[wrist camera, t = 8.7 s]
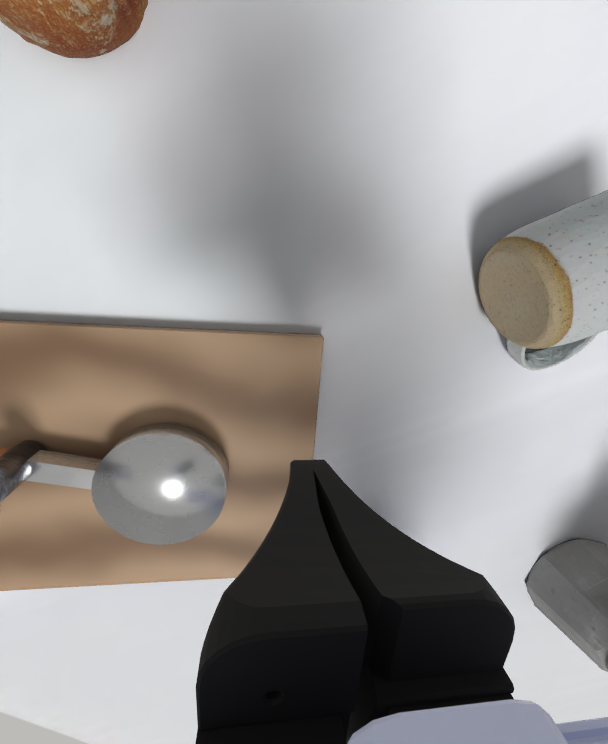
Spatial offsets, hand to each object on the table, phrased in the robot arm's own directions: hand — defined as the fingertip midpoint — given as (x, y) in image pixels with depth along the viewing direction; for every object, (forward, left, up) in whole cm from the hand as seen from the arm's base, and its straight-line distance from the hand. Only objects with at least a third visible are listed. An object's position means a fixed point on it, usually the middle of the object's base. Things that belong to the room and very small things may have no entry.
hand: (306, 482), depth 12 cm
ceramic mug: (+8, -17, -11) cm, 21 cm away
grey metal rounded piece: (-5, +11, -9) cm, 15 cm away
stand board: (-6, +10, -10) cm, 15 cm away
